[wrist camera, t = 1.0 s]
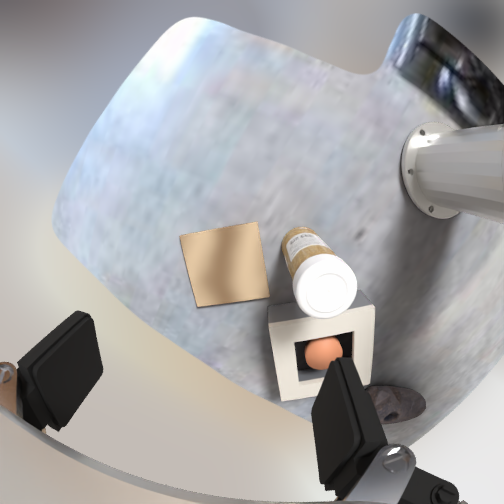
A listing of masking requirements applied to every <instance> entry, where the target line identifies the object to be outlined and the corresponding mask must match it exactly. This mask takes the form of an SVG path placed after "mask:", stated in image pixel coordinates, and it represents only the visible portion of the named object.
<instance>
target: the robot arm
mask: <svg viewBox="0 0 504 504" xmlns="http://www.w3.org/2000/svg"><path fill="white" fill-rule="evenodd" d="M401 166H402V176H403V180H404V184H405V187H406V189H407V192H408V194H409V196H410V198H411V199H412V201H413V202H414V204H415V205H416V206H417V207H418V208H419V209H420V210H421V211H422V212H423V213H425V214H427V215H429V216H431V217H435V218H439V219H446V218H451V217H453V216H455V215H457V214H458V213H459V212H463V213H467V214H471V215H475V216H478V217H482V218H485V219H489V220H492V221H495V222H498V223H502V224H504V124H500V125H491V126H482V127H475V128H467V129H460V130H454V129H452V128H451V127H450V126H448V125H446V124H443V123H440V122H428V123H424V124H422V125H420V126H418V127H416V128H415V129H414V130H413V131H412V132H411V133H410V135H409V136H408V138H407V140H406V142H405V145H404V148H403V153H402V164H401ZM408 171H409V173H408ZM17 363H18V366H19V368H18V369H16V367H15V366H14V365H13V364H11V363H9V362H0V504H468V503H466V502H465V501H464V500H463V501H461V502H460V501H459V492H458V490H457V488H456V487H455V486H454V485H453V484H452V483H450V482H448V481H446V480H443V479H441V478H439V477H436V476H434V475H432V474H430V473H428V472H426V471H424V470H421V469H419V468H417V467H415V465H416V458H415V455H414V453H413V452H412V451H411V450H410V449H409V448H408V447H406V446H404V445H401V444H389V445H388V442H387V439H386V436H385V433H384V431H383V428H382V425H381V422H380V420H379V417H378V414H377V412H376V409H375V406H374V404H373V401H372V398H371V396H370V394H369V392H368V391H365V389H364V387H363V384H362V382H361V379H360V376H359V374H358V371H357V369H356V366H355V364H354V361H353V359H352V358H345V357H337V358H336V359H335V361H331V362H330V364H329V367H328V369H327V372H326V375H325V377H324V380H323V382H322V385H321V388H320V390H319V393H318V395H317V397H316V400H315V402H314V405H313V407H312V412H311V416H312V423H313V430H314V437H315V446H316V454H317V462H318V469H319V470H318V471H319V480H320V483H321V484H324V485H325V490H326V491H328V490H335V495H336V496H337V498H336V499H335V500H334V501H330V502H269V501H253V500H242V499H233V498H226V497H219V496H213V495H207V494H202V493H196V492H191V491H187V490H183V489H178V488H174V487H170V486H167V485H163V484H159V483H155V482H153V481H149V480H146V479H143V478H140V477H137V476H134V475H131V474H128V473H125V472H123V471H120V470H118V469H115V468H113V467H110V466H108V465H106V464H103V463H101V462H99V461H96V460H94V459H92V458H90V457H87V456H85V455H83V454H81V453H79V452H77V451H75V450H73V449H71V448H70V447H68V446H66V445H64V444H62V443H60V442H58V441H56V440H55V439H53V438H52V437H50V436H48V435H47V434H46V429H45V427H46V425H47V424H48V425H49V426H50V427H51V428H53V429H55V430H57V431H59V430H60V429H61V428H62V427H65V426H66V425H67V424H68V422H69V421H70V419H71V418H72V416H73V415H74V413H75V412H76V410H77V409H78V408H79V406H80V405H81V403H82V402H83V401H84V399H85V398H86V396H87V395H88V394H89V392H90V391H91V389H92V388H93V387H94V385H95V384H96V382H97V381H98V380H99V378H100V377H101V375H102V373H103V365H102V361H101V357H100V352H99V347H98V342H97V337H96V331H95V326H94V321H93V319H92V318H91V316H90V315H89V314H88V313H85V312H81V311H75V312H74V313H73V314H72V315H70V317H68V318H67V319H66V320H64V321H63V322H62V323H61V324H60V325H58V326H57V327H56V328H55V329H54V330H53V331H51V332H50V333H49V334H48V335H47V336H46V337H45V338H43V339H42V340H41V341H40V342H39V343H38V344H37V345H36V346H35V347H33V348H32V349H31V350H30V351H29V352H28V353H27V354H26V355H25V356H23V357H22V358H21V359H20V360H19V361H18V362H17Z"/></svg>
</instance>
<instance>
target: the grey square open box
mask: <svg viewBox="0 0 504 504" xmlns="http://www.w3.org/2000/svg"><path fill="white" fill-rule="evenodd" d="M374 325H375V307H374V305H373V304H372V303H371V302H370V300H369V299H368V298H367V297H366V295H365V294H364V293H363V292H362V291H361V290H358V291H357V292H356V296H355V299H354V301H353V302H352V304H351V305H350V307H349V308H348V309H347V310H346V311H345V312H343V313H342V314H340V315H338V316H336V317H333V318H330V319H316V318H313V317H311V316H309V315H307V314H306V313H304V312H303V311H302V310H301V308H300V307H299V305H298V303H297V302H292V303H286V304H280V305H273V306H268V327H269V333H270V338H271V344H272V350H273V356H274V361H275V367H276V373H277V379H278V384H279V390H280V396H281V401H288V400H295V399H301V398H307V397H313V396H317V395H318V393H319V390H320V388H321V385H322V382H323V380H324V377H325V375H326V372H327V369H324V370H317V369H314V368H311V369H305V370H299V371H297V362H296V354H295V346H294V342H299V341H305V340H311V339H317V338H322V337H327V336H332V335H337V334H342V333H347V332H351V331H353V333H352V359H353V361H354V364H355V366H356V369H357V371H358V374H359V376H360V379H361V382H362V384H363V386H364V385H368V384H370V378H371V368H372V357H373V344H374Z"/></svg>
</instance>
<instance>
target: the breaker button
mask: <svg viewBox="0 0 504 504" xmlns="http://www.w3.org/2000/svg"><path fill="white" fill-rule="evenodd" d="M304 353H305V358H306V362H307V364H308V365H309V366H310V367H312V368H314V369H317V370H324V369H328V367H329V364H330V362H331V361H335V359H336V358H337V357H342V353H343V351H342V347H341V345H340V343H339V340H338V339H337V337H336V336H334V335H332V336H327V337H322V338H317V339H311V340H308V342H307V343H306V345H305V347H304Z"/></svg>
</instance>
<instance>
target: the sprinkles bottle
mask: <svg viewBox="0 0 504 504" xmlns="http://www.w3.org/2000/svg"><path fill="white" fill-rule="evenodd" d="M282 252H283V254H284V257H285V261H286V264H287V267H288V270H289V272H290V274H291V278H292V280H293V292H294V295H295V298H296V301H297V303H298V305H299V307H300V308H301V310H302V311H303V312H304V313H306V314H307V315H309V316H311V317H313V318H316V319H330V318H333V317H336V316H338V315H340V314H342V313H343V312H345V311H346V310H347V309H348V308H349V307H350V305H351V304H352V302H353V301H354V299H355V296H356V292H357V281H356V277H355V275H354V273H353V271H352V270H351V269H350V267H349V266H348V265H347V264H346V263H345V262H344V261H343V260H342V259H340V258H339V257H337V256H336V255H335V254H334V252H333V251H332V250H331V249H330V248H329V247H328V246H327V245H326V244H325V243H324V242H323V241H322V239H320V238H319V237H318V235H317V234H316V233H315V232H314V231H313V230H311V229H309V228H307V227H297V228H294V229H292V230H290V231H289V232H288V233H287V234H286V235H285V237H284V239H283V241H282Z"/></svg>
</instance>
